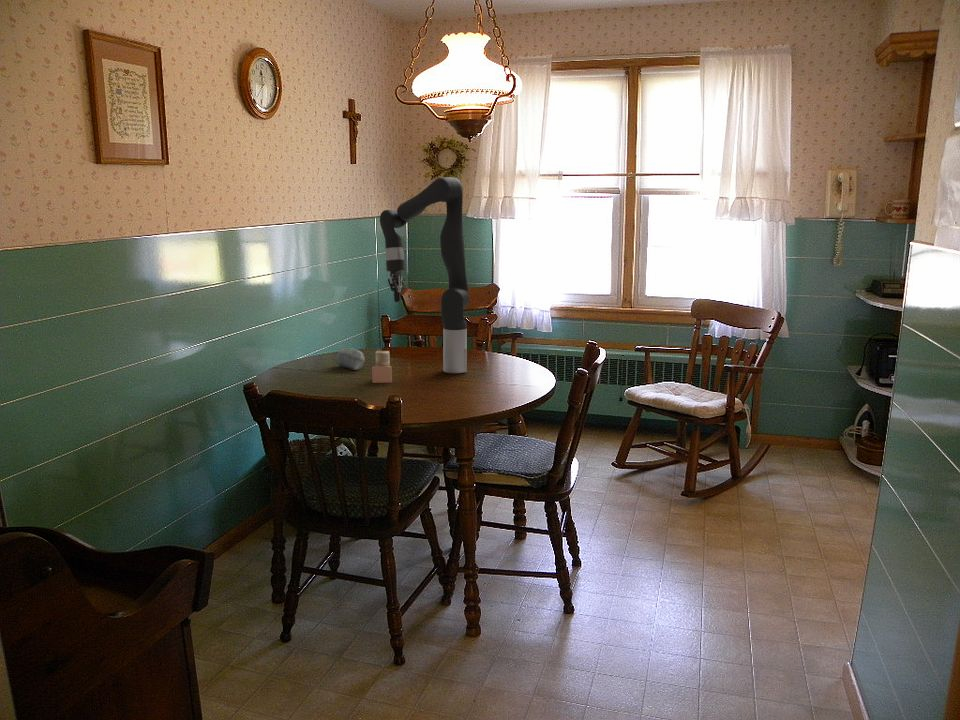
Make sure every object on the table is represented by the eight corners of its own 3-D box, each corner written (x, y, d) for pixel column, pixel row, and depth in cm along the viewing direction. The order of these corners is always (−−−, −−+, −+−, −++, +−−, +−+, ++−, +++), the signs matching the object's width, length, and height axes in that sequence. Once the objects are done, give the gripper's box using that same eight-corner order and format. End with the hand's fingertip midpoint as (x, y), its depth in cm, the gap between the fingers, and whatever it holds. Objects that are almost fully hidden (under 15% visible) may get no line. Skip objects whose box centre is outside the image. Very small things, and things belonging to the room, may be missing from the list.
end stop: (391, 381, 288) (391, 366, 286) (391, 382, 286) (391, 366, 285) (372, 381, 287) (372, 366, 286) (372, 382, 286) (372, 366, 285)
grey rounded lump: (327, 359, 311) (339, 337, 310) (345, 366, 318) (357, 345, 317) (342, 373, 301) (355, 351, 301) (360, 380, 308) (373, 359, 307)
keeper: (389, 378, 292) (389, 351, 290) (388, 380, 288) (388, 353, 286) (377, 378, 292) (376, 351, 290) (376, 380, 288) (375, 353, 286)
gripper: (397, 257, 307) (400, 301, 308) (409, 259, 320) (412, 301, 321) (380, 259, 309) (382, 302, 310) (392, 261, 322) (395, 302, 323)
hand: (397, 301), depth 315 cm, fingers closed
